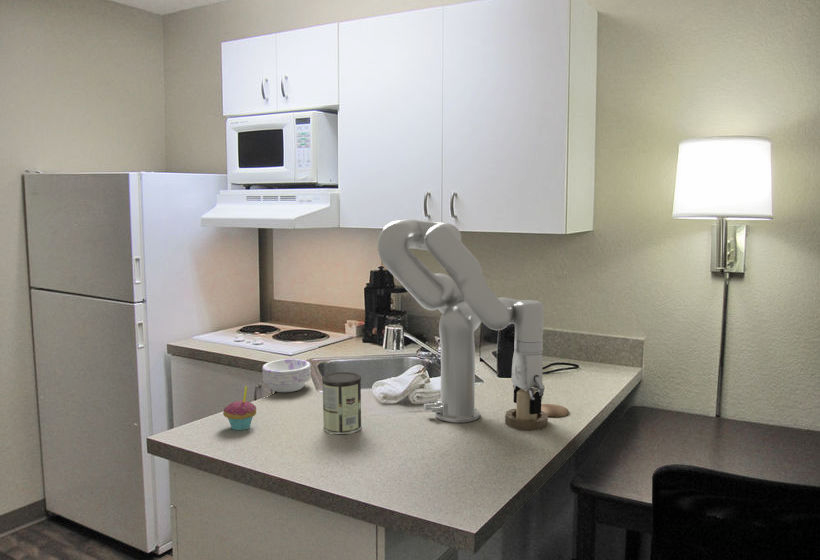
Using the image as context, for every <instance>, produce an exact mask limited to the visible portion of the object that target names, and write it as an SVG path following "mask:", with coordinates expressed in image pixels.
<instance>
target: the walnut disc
mask: <svg viewBox="0 0 820 560" xmlns="http://www.w3.org/2000/svg"><path fill="white" fill-rule="evenodd" d="M541 411H543V412H545V413H546V414H548V418H562V417H566V416H568V414H569V409H568V408H567V407H564V406H562V405H559V404H553V403H552V404H550V403H544V404H543V403H541Z"/></svg>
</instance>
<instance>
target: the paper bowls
mask: <svg viewBox="0 0 820 560" xmlns="http://www.w3.org/2000/svg"><path fill="white" fill-rule="evenodd" d="M311 366H312V365H311V363H310V362H309V361H307V360H304V359H297V358H286V359H284V358H283V359H277V360H273V361H269V362H266V363H264V364H263V365H262V367H261V368H262V369H261V370H262V372H261V373H262V382H263V383H264V384H265V385H268V386H269V388H270V390H271V391H273V392H276V393H293V392H296V391H300V390H302V389H303V388H304V386H305V384H306V383H307V382H309V381H310V380H311V379H312V370H311Z"/></svg>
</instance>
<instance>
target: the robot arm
mask: <svg viewBox="0 0 820 560" xmlns="http://www.w3.org/2000/svg"><path fill="white" fill-rule="evenodd" d="M410 249H413V250H414V249H415V250H416V249H417V250H424V251H428V252H429V253H430V255H432V257H433V258H434V259H435V260H436V261H437V262H438V264H439V265H440V266H441V267H442V268H443V270H444V271H445V272H446V273H447V274H448V275H447V274H444V273H441V272H440V273H433V272H432V271H431V269H429V268H428V267H427V266H426V265H425V264H424V263H423V261H422V260H420V259H419V258H418V257H417V256H416V255H414V254H413V253H412V252H411V250H410ZM377 250H378V251H377V252H378V255H379V258H380V260H381V263H382V264H383V266H384V267H385V268H386V269H387V270H388V272H389V273H390V274H391V275H392V276H393V277H394V278H395V279H396V280H397V281H398V282H399V283H400V285H402V286H403V288H404V289H405V290H406V291H407V292H408V293H409V294H410V295H411V296H412V298H413V299H415V301H416V302H417V303H418V305H420V307H421V308H423V309H425V310H427V311H436V310H438V311H439V312H440V313H441V316H440V319H439V322H438V323H439V324H438V333H439V342H440V398H436V399H437V400H436V401H434V403H433V402H432V403H430V402H429V403H424V404H423V410H424V411H430V412H431V413H434V415H435V417H436V418H437V419H439V420H440V421H444V422H448V423H460V424H461V423H469V422H473V421H476V420H478V419H479V418H480V416H481V415H480V413H481V412H480V410H479V409H478V408H476V407H475V390H476V389H475V383H476V382H475V381H476V379H475V377H476V376H475V374H476V346H475V345H476V344H475V331H476V330H477V329H478V328H479V327H480V325H481V323H482V324H483V325H484V326H486V328H488V329H490V330H493V331H502V330H504V329H506V328H507V327H508V326H509V325H512V324H514V339H513V340H514V343H513V345H514V347H513V348H514V351H513V356H512V362H511V364H512V365H511V383H513V385H512V387H513V403H514V404H517V392H518V391H519V390H520V389H522V390H524V391H528V390H529V393H530V396H531V399H530V405H529V413H530V414H540V413H541V404H542V400H543V396H544V393H545V385H544V383H543V380H544V379H543V375H544V374H543V373H544V372H543V357H542V354H543V347H544V312H545V311H544V310H545V309H544V307H545V306H544V304H543V302H541V301H539V300H535V299H534V300H533V299H522V300H521V299H517V298H510V297H503V296H501V297H497V296H496V294H495V293H494V292H493V290H492V289H491V288H490V287H489V285H488V283H487V282H486V280H485V278H484V274H483V269H482V266H481V264H480V262H479V260H478V259H477V258H476V257H475V256H474V255H473V253H472V252H471V251H470V250H469V249H468V248H467V247H466V245H465V244H464V243H463V242H462V233H461V232H460V230H459V228H458V227H457V226H456V225H454V224H452V223H448V222H447V223H446V222H440V221H439V222H437V221H429V220H419V219H411V218H409V219H408V218H407V219H400V220H394V221H391V222H389V223H387V224H386V225H385V226H384V227H383V228H382V230H381V231H380V234H379V236H378V241H377ZM533 391H536V393H535V394H534V393H533Z"/></svg>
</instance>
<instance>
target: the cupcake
mask: <svg viewBox="0 0 820 560" xmlns="http://www.w3.org/2000/svg"><path fill="white" fill-rule="evenodd" d="M243 392H244V393H243V399H241V400H237V401H233V402H231V403H229V404H227V405H226V407H224V408H223V411H222V415H223V416H224V417H225V418H227V420H228V422H229V424H230V427H231V429H232V430H233V431H245V430H248V429H249V428H250V427H251V424H252V420H253V418H254V417H255V416H256V414H257V407H256V405H255V404H254V403H253V402H250V401H247V393H248V383H246V385H245V386H244V390H243Z"/></svg>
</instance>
